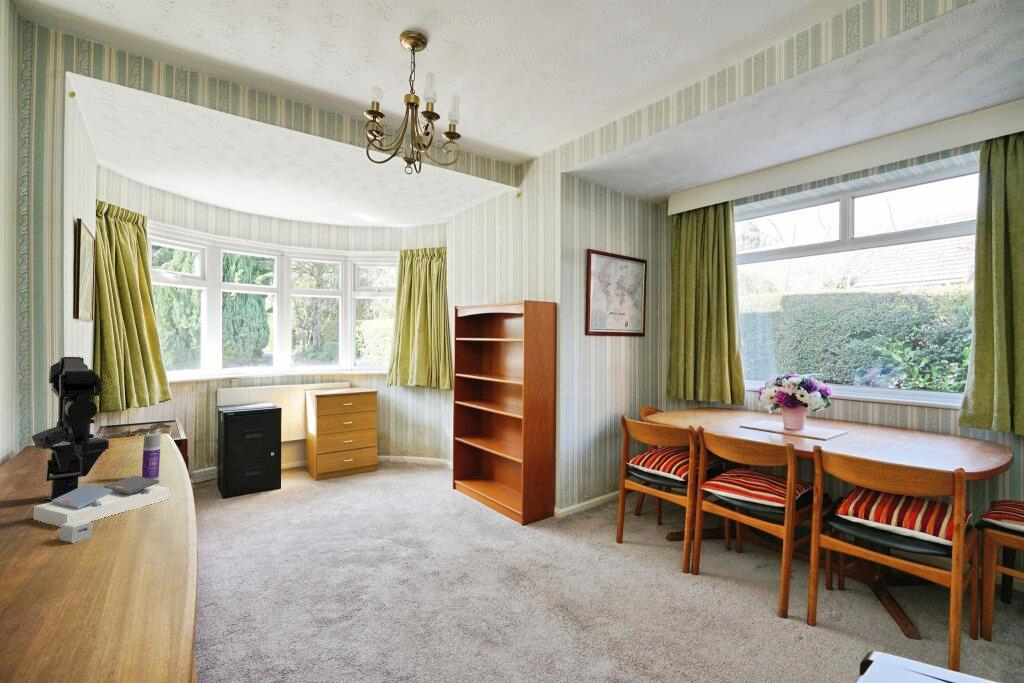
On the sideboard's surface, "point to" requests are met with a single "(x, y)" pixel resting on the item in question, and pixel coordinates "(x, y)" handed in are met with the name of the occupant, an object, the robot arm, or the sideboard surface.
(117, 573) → the sideboard surface
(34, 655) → the sideboard surface
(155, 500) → the white long base
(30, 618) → the sideboard surface
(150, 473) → the container
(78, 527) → the usb wall charger
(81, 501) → the plate
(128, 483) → the rocker charcoal
